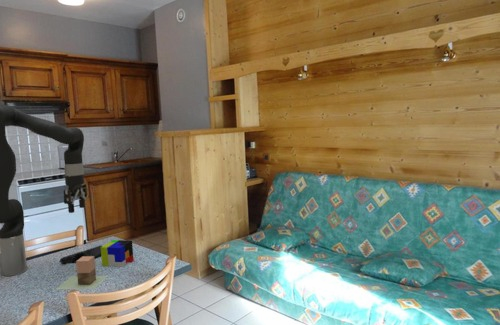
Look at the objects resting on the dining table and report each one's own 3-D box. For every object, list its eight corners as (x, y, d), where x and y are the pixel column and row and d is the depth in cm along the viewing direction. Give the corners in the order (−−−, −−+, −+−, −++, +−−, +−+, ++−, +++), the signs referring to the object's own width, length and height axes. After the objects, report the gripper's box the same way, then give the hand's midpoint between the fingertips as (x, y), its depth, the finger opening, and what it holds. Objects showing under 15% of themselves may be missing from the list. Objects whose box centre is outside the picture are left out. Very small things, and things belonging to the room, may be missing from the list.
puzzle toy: (122, 269, 161) (120, 248, 160) (102, 268, 163) (100, 247, 162) (133, 260, 171) (132, 240, 169) (114, 259, 173) (113, 239, 171)
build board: (55, 292, 141) (55, 289, 141) (72, 278, 153) (71, 276, 152) (94, 291, 140) (94, 288, 140) (108, 278, 152) (108, 275, 152)
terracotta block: (77, 273, 143) (76, 261, 143) (83, 268, 148) (82, 256, 147) (89, 272, 143) (88, 261, 142) (95, 267, 148) (94, 256, 147)
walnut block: (78, 285, 144) (77, 273, 143) (84, 279, 149) (83, 268, 148) (90, 284, 143) (89, 273, 143) (96, 279, 148) (95, 267, 148)
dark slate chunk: (114, 253, 182) (113, 244, 182) (72, 269, 164) (72, 259, 164) (96, 248, 191) (95, 239, 190) (55, 262, 173) (54, 253, 172)
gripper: (75, 171, 162) (77, 206, 164) (56, 176, 148) (59, 214, 150) (91, 171, 161) (93, 206, 163) (73, 176, 147) (76, 214, 149)
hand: (77, 210), depth 157 cm, fingers open, 8 cm apart
